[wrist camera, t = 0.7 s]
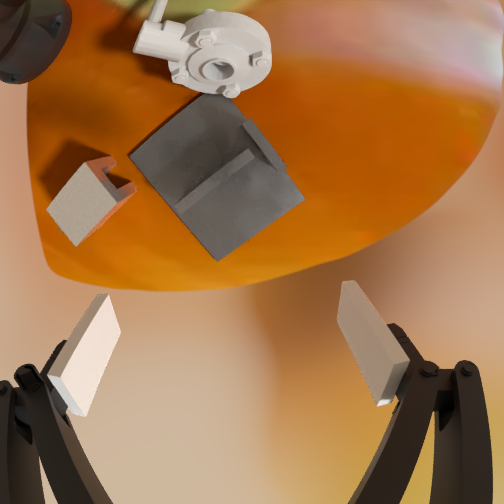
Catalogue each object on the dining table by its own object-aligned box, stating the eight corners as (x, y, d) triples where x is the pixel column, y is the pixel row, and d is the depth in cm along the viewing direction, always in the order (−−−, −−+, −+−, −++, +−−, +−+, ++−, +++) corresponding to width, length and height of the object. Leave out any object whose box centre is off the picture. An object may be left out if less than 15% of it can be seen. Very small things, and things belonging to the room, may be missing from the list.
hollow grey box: (73, 197, 34) (44, 212, 28) (111, 155, 33) (84, 161, 26) (98, 229, 37) (73, 249, 30) (138, 189, 35) (117, 202, 28)
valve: (238, 109, 31) (111, 80, 23) (239, 23, 33) (145, -5, 25) (294, 60, 23) (137, 6, 14) (279, -19, 25) (175, -59, 17)
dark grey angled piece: (130, 156, 33) (106, 162, 26) (217, 84, 31) (213, 71, 24) (217, 260, 39) (214, 288, 32) (304, 198, 37) (320, 213, 30)
